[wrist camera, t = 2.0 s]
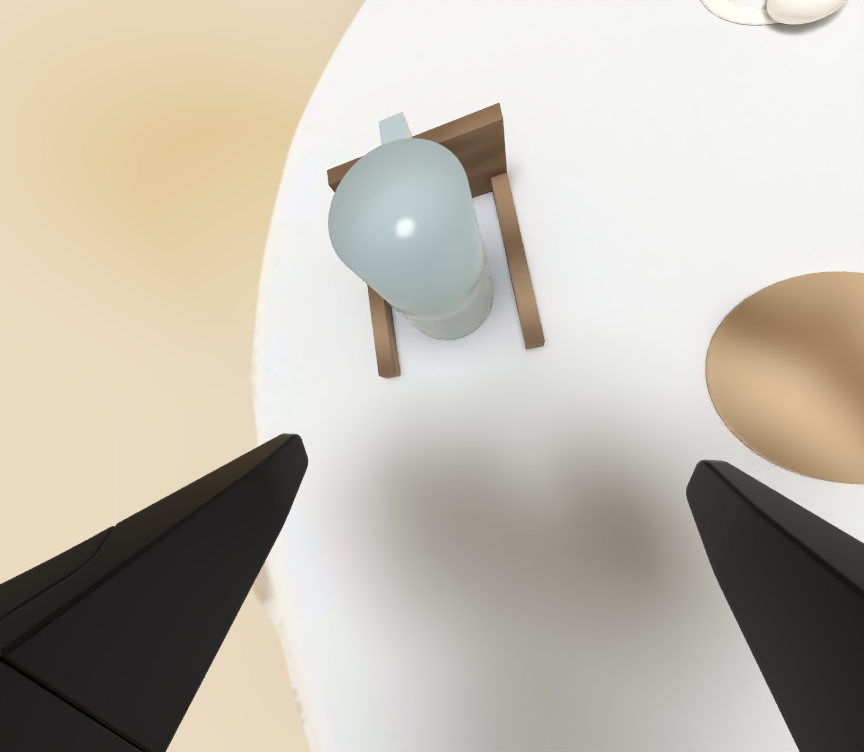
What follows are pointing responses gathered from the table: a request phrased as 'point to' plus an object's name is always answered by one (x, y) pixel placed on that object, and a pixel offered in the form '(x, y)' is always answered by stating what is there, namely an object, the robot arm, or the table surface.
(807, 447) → the coaster
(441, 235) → the jug
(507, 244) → the dock
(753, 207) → the table surface
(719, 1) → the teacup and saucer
